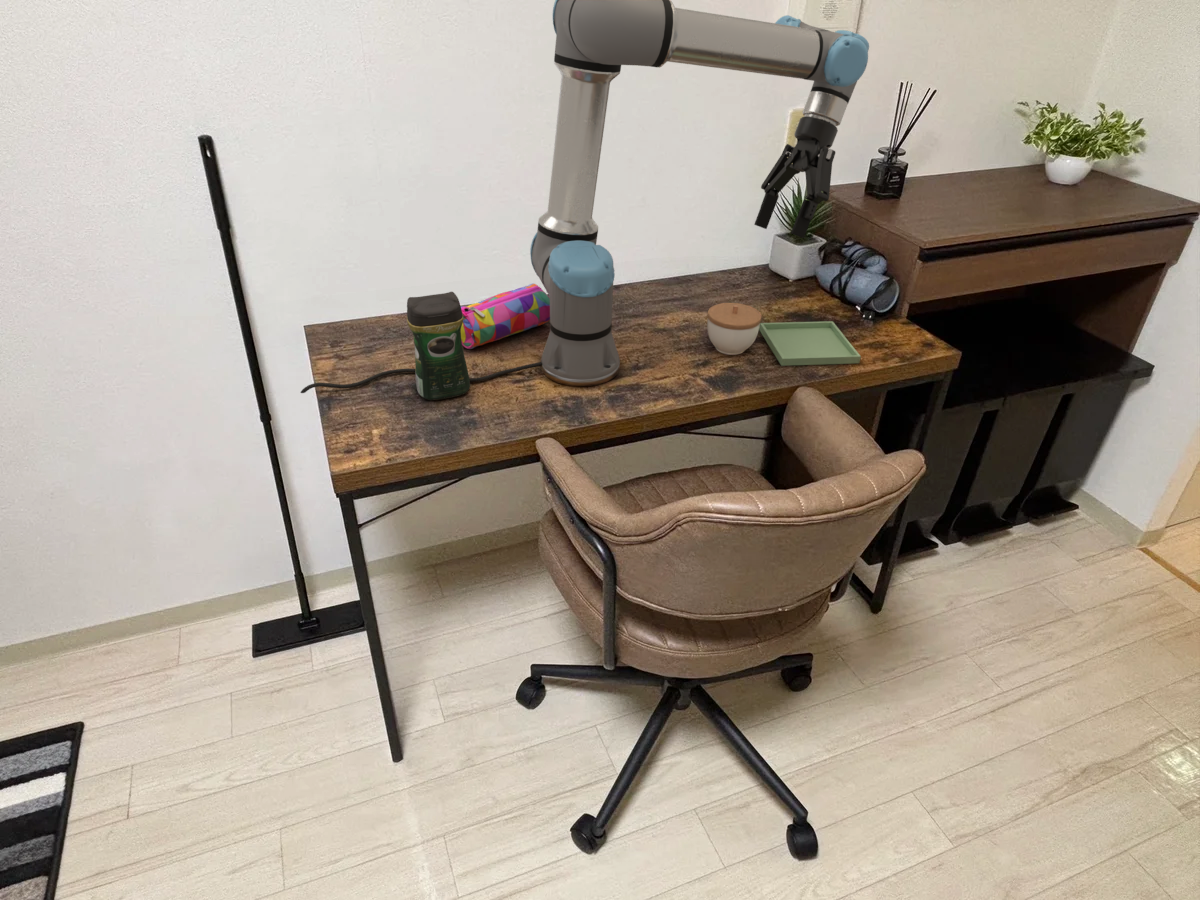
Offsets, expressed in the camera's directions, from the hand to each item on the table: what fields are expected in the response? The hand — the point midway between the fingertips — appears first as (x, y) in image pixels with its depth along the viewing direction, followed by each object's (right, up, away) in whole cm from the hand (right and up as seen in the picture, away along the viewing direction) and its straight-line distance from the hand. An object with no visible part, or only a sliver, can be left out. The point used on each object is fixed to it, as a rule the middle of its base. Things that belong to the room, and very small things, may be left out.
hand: (778, 231), depth 153 cm
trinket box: (-9, -23, +6) cm, 25 cm away
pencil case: (-56, -20, +8) cm, 60 cm away
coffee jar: (-64, -33, -11) cm, 73 cm away
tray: (+8, -22, +7) cm, 24 cm away
